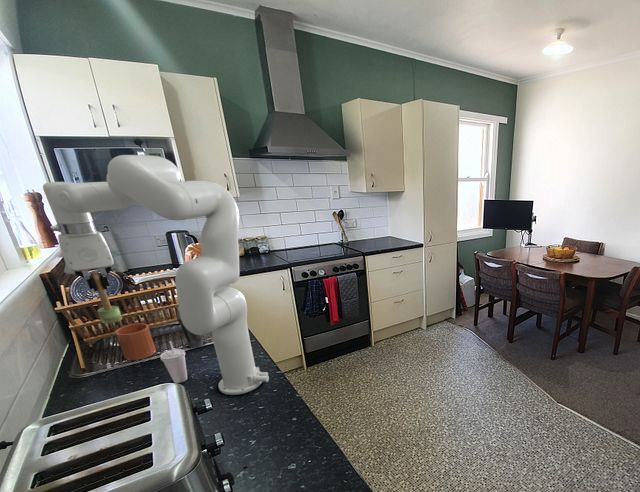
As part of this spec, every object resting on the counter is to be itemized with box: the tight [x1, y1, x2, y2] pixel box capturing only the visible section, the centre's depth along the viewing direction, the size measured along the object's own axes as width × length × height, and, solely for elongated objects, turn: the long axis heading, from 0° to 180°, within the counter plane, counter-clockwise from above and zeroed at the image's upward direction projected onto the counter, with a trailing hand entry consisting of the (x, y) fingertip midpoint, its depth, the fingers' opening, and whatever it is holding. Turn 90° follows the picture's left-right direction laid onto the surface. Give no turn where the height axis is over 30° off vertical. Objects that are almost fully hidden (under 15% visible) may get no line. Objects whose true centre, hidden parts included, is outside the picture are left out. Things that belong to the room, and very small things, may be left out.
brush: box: [89, 270, 123, 325], centre depth 107 cm, size 5×5×16 cm
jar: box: [114, 322, 157, 361], centre depth 122 cm, size 9×9×10 cm
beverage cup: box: [176, 309, 204, 348], centre depth 127 cm, size 7×7×20 cm
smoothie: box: [159, 340, 188, 384], centre depth 108 cm, size 6×6×14 cm
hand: (100, 289), depth 106 cm, fingers closed on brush
